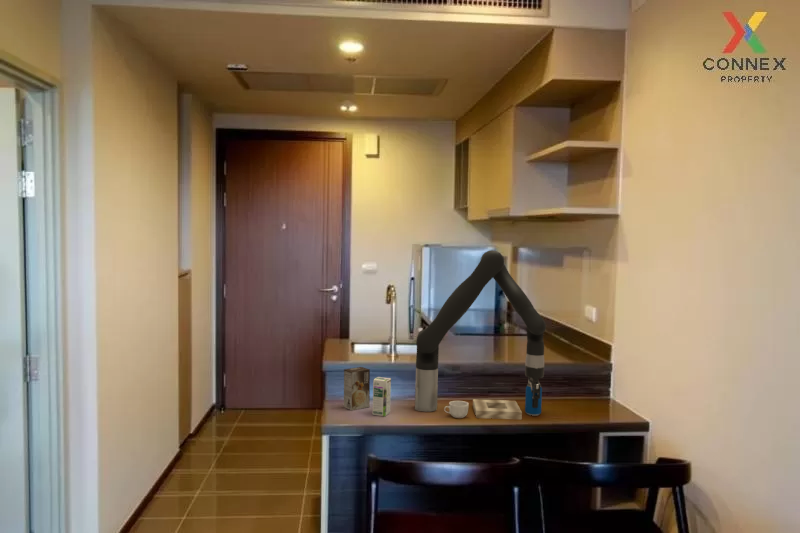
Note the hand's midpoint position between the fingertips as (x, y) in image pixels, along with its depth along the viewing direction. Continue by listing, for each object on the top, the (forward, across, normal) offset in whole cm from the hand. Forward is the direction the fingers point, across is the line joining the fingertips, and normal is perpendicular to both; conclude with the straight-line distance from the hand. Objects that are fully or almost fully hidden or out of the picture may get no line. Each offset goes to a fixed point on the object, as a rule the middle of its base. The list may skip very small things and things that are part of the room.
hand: (533, 405), depth 238 cm
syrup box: (+4, +7, -62) cm, 63 cm away
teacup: (+4, +7, -32) cm, 33 cm away
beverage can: (+4, 0, 0) cm, 4 cm away
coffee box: (+4, -1, -73) cm, 73 cm away
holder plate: (+4, 0, -15) cm, 15 cm away
